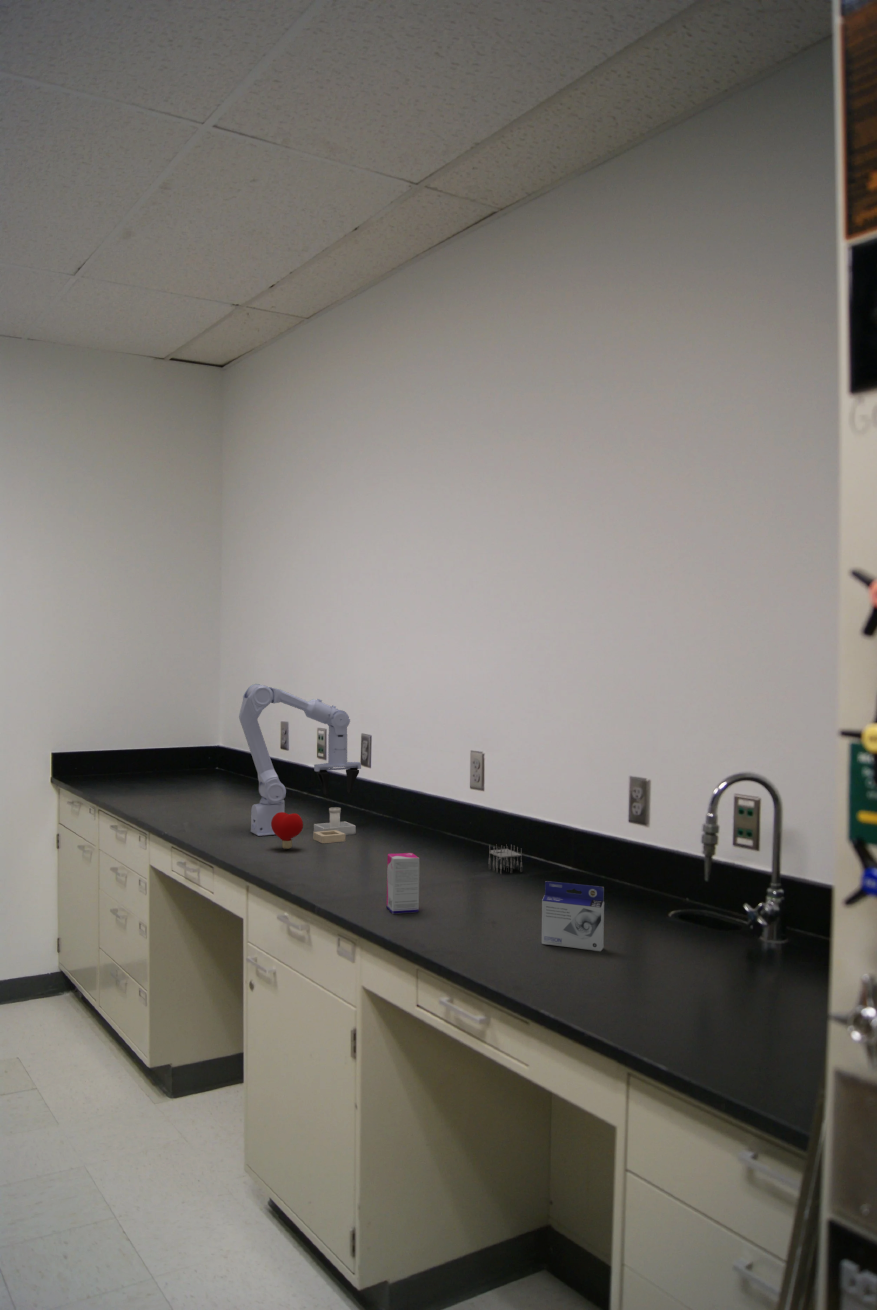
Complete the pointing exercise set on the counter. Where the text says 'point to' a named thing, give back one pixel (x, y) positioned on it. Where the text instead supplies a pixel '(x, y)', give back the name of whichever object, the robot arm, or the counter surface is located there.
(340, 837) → the socket block
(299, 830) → the red heart figure
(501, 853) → the building frame
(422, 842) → the counter surface
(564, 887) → the ink box
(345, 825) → the tray
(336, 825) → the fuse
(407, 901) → the supplement box
